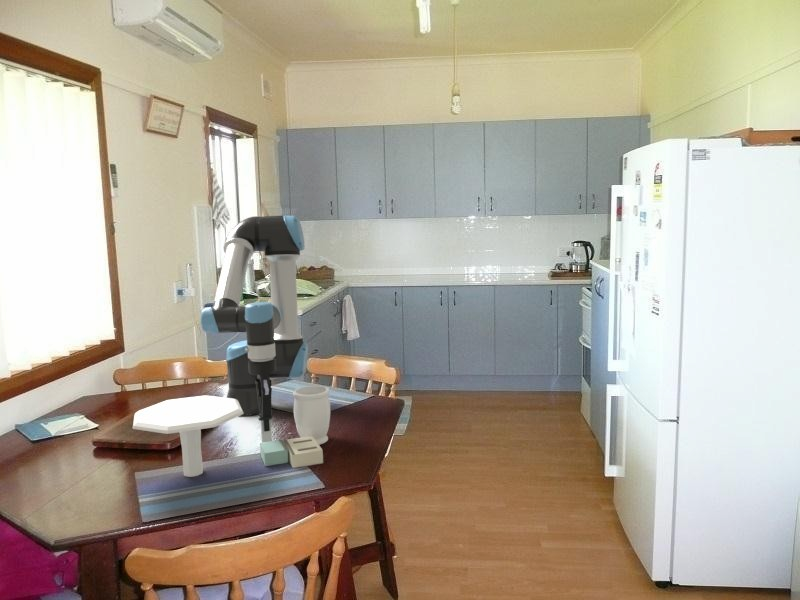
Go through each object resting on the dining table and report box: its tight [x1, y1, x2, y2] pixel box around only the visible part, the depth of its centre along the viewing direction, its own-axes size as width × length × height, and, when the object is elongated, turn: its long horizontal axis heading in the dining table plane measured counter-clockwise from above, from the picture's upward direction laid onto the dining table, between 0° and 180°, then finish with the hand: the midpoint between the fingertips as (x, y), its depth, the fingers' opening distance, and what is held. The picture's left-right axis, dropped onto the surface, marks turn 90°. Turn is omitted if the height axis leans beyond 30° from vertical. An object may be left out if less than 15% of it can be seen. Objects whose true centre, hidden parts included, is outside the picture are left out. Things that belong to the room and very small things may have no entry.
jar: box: [292, 385, 331, 446], centre depth 182 cm, size 11×10×15 cm
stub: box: [259, 439, 289, 467], centre depth 170 cm, size 8×6×4 cm
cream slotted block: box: [283, 436, 324, 469], centre depth 170 cm, size 12×8×4 cm, turn 21°
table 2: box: [132, 394, 244, 478], centre depth 161 cm, size 28×28×17 cm
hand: (266, 440), depth 179 cm, fingers closed
